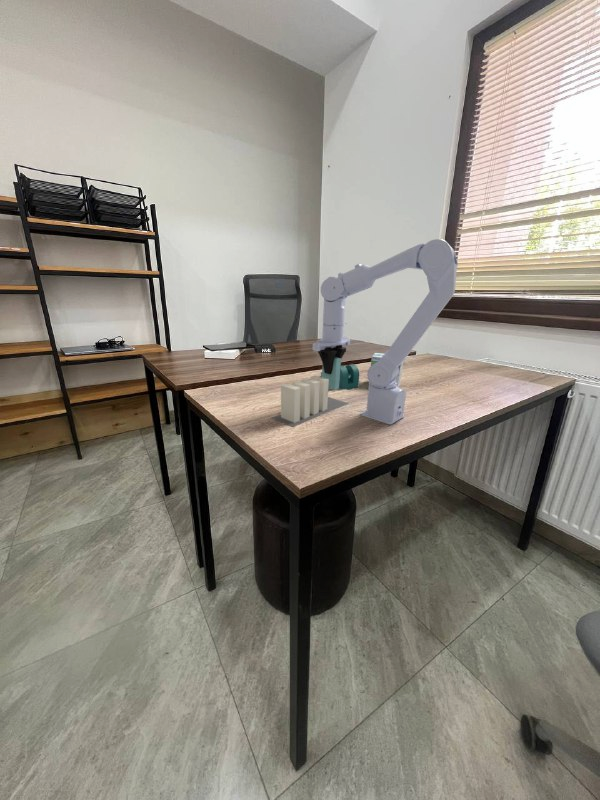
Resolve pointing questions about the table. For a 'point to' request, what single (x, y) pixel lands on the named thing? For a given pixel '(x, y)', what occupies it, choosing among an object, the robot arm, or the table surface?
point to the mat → (331, 406)
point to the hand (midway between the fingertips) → (330, 372)
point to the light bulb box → (377, 357)
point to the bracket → (348, 377)
